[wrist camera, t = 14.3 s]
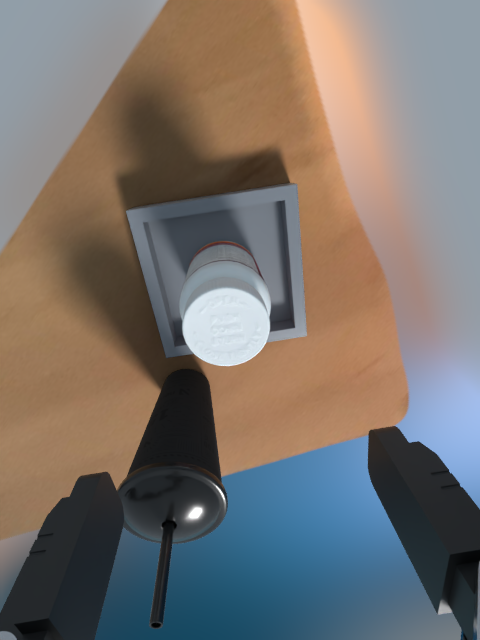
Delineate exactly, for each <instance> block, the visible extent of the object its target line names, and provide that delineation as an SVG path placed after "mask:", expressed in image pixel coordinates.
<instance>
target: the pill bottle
mask: <svg viewBox="0 0 480 640" xmlns="http://www.w3.org/2000/svg"><path fill="white" fill-rule="evenodd" d="M179 308H180V315H181V319H182V332H183V336H184V339H185V342H186V344H187V346H188V347H189V348H190V350H191V351H192V352H193V353H194V354H195V355H196V356H197V357H199V358H200V359H202V360H204V361H206V362H208V363H211V364H214V365H219V366H232V365H237V364H241V363H244V362H246V361H248V360H250V359H251V358H253V357H254V356H255V355H257V354H258V353H259V352H260V351H261V349H262V348H263V347H264V345H265V343H266V341H267V339H268V336H269V332H270V319H269V316H270V311H271V300H270V295H269V291H268V288H267V286H266V283H265V281H264V279H263V277H262V275H261V272H260V270H259V267H258V265H257V263H256V261H255V259H254V257H253V256H252V254H251V253H250V252H249V251H248V250H247V249H246V248H244V247H243V246H241V245H240V244H237V243H235V242H231V241H216V242H212V243H209V244H207V245H205V246H204V247H202V248H201V249H200V250H199V251H198V252H197V253H196V254H195V255H194V257H193V259H192V260H191V263H190V265H189V268H188V272H187V276H186V279H185V282H184V286H183V289H182V291H181V296H180V303H179Z"/></svg>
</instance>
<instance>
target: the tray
mask: <svg viewBox="0 0 480 640" xmlns="http://www.w3.org/2000/svg"><path fill="white" fill-rule="evenodd" d="M126 213H127V217H128V220H129V224H130V228H131V231H132V235H133V239H134V242H135V246H136V249H137V253H138V257H139V260H140V264H141V268H142V271H143V275H144V279H145V282H146V286H147V290H148V293H149V297H150V301H151V304H152V308H153V311H154V315H155V319H156V322H157V326H158V330H159V333H160V337H161V341H162V344H163V348H164V352H165V355H166V358H170V357H176V356H182V355H189V354H194V353H193V352H192V351H191V350H190V348H189V347H188V346H187V344H186V342H185V339H184V336H183V332H182V319H181V315H180V308H179V303H180V296H181V291H182V289H183V286H184V282H185V279H186V276H187V272H188V268H189V265H190V263H191V260H192V259H193V257H194V255H195V254H196V253H197V252H198V251H199V250H200V249H201V248H202V247H204V246H205V245H207V244H209V243H212V242H216V241H231V242H235V243H237V244H240V245H241V246H243V247H244V248H246V249H247V250H248V251H249V252H250V253H251V254H252V256H253V257H254V259H255V261H256V263H257V265H258V267H259V270H260V272H261V275H262V277H263V279H264V281H265V283H266V286H267V288H268V291H269V295H270V300H271V311H270V316H269V319H270V332H269V336H268V339H267V341H266V342H272V341H278V340H285V339H291V338H297V337H304V336H307V330H306V315H305V299H304V284H303V268H302V252H301V237H300V221H299V206H298V190H297V184H294V183H285V184H279V185H273V186H266V187H260V188H254V189H247V190H241V191H234V192H228V193H222V194H215V195H209V196H202V197H196V198H190V199H183V200H177V201H170V202H164V203H158V204H151V205H145V206H138V207H133V208H131V209H129V210H127V211H126Z"/></svg>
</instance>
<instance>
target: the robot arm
mask: <svg viewBox="0 0 480 640" xmlns="http://www.w3.org/2000/svg"><path fill="white" fill-rule="evenodd" d="M368 445H369V446H368V470H369V475H370V479H371V482H372V484H373V487H374V489H375V491H376V493H377V495H378V497H379V499H380V501H381V503H382V505H383V507H384V509H385V510H386V513H387V515H388V517H389V519H390V521H391V523H392V525H393V527H394V529H395V531H396V533H397V535H398V537H399V539H400V540H401V543H402V545H403V547H404V548H405V550H406V553H407V555H408V557H409V559H410V560H411V562H412V564H413V566H414V568H415V570H416V572H417V574H418V576H419V578H420V580H421V582H422V584H423V586H424V588H425V590H426V592H427V594H428V596H429V598H430V600H431V602H432V604H433V606H434V608H435V610H436V612H437V614H438V615H439V614H445V613H450V612H453V614H454V616H455V618H456V619H457V621H458V623H459V625H460V627H461V639H460V640H480V509H479V508H478V507H477V505H476V504H475V503H474V501H473V500H472V499H471V498H470V496H469V495H468V494H467V493H466V491H465V490H464V489H463V488H462V487H460V484H459V482H458V481H457V480H456V478H455V477H454V476H453V475H452V474H450V472H449V469H448V468H447V467H446V466H445V464H444V463H443V462H442V461H441V459H440V458H439V457H438V455H437V454H436V453H434V452H433V451H432V450H430V449H429V448H427V447H426V446H424V445H423V444H422V443H420V442H412V443H409V442H408V441H407V439H406V438H405V437H404V435H403V434H402V432H401V431H400V430H399V429H398V428H397V427H396V426H392V427H386V428H380V429H373V430H370V431H369V443H368ZM123 524H124V509H123V505H122V502H121V500H120V497H119V495H118V493H117V490H116V488H115V486H114V483H113V481H112V479H111V476H110V474H109V473H108V472H102V473H96V474H89V475H83V476H80V477H79V478H78V480H77V481H76V484H75V486H74V488H73V490H72V493H71V495H70V497H66V498H62V499H61V500H60V501H59V502H58V503H57V505H56V506H55V507H54V508H53V509H52V511H51V512H50V513H49V514H48V515H47V517H46V519H45V521H44V523H43V525H42V527H41V529H40V531H39V534H38V538H37V540H35V542H34V544H33V546H32V548H31V550H30V555H29V557H27V559H26V561H25V563H24V565H23V567H22V569H21V571H20V573H19V575H18V577H17V579H16V581H15V584H14V586H13V588H12V590H11V592H10V594H9V596H8V598H7V600H6V602H5V604H4V606H3V609H2V611H1V613H0V640H94V639H95V635H96V631H97V627H98V623H99V619H100V616H101V612H102V607H103V603H104V600H105V596H106V592H107V588H108V584H109V580H110V576H111V572H112V568H113V564H114V560H115V556H116V552H117V549H118V545H119V540H120V537H121V532H122V529H123Z"/></svg>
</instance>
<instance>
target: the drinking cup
mask: <svg viewBox="0 0 480 640" xmlns="http://www.w3.org/2000/svg"><path fill="white" fill-rule="evenodd" d="M117 493H118V495H119V497H120V500H121V502H122V505H123V509H124V524H123V527H124V528H125V529H126V530H127V531H129V532H130V533H132V534H133V535H135V536H137V537H139V538H141V539H144V540H147V541H151V542H156V543H161V548H160V555H159V562H158V569H157V576H156V582H155V589H154V596H153V603H152V610H151V617H150V623H149V625H150V627H151V628H154V629H158V628H161V627H162V626H163V619H164V611H165V602H166V593H167V584H168V576H169V568H170V559H171V551H172V544H178V543H185V542H189V541H194V540H197V539H199V538H202V537H204V536H206V535H207V534H209V533H211V532H212V531H213V530H215V529H216V528H217V527H218V526H219V525H220V523H221V522H222V521H223V519H224V517H225V515H226V512H227V507H228V500H227V493H226V491H225V488H224V486H223V485H222V481H221V472H220V464H219V456H218V448H217V440H216V432H215V424H214V416H213V408H212V400H211V392H210V385H209V382H208V380H207V379H206V377H205V376H204V375H202V374H201V373H199V372H197V371H195V370H190V369H182V370H178V371H176V372H174V373H172V374H171V375H169V376H168V377H167V379H166V380H165V383H164V385H163V388H162V390H161V393H160V395H159V398H158V400H157V403H156V405H155V408H154V410H153V412H152V415H151V417H150V420H149V422H148V425H147V427H146V430H145V432H144V435H143V437H142V440H141V442H140V445H139V447H138V450H137V452H136V455H135V457H134V460H133V462H132V465H131V467H130V470H129V472H128V475H127V477H126V478H125V479H124V480H123V482H122V483H121V484H120V486H119V487H118V489H117Z"/></svg>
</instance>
